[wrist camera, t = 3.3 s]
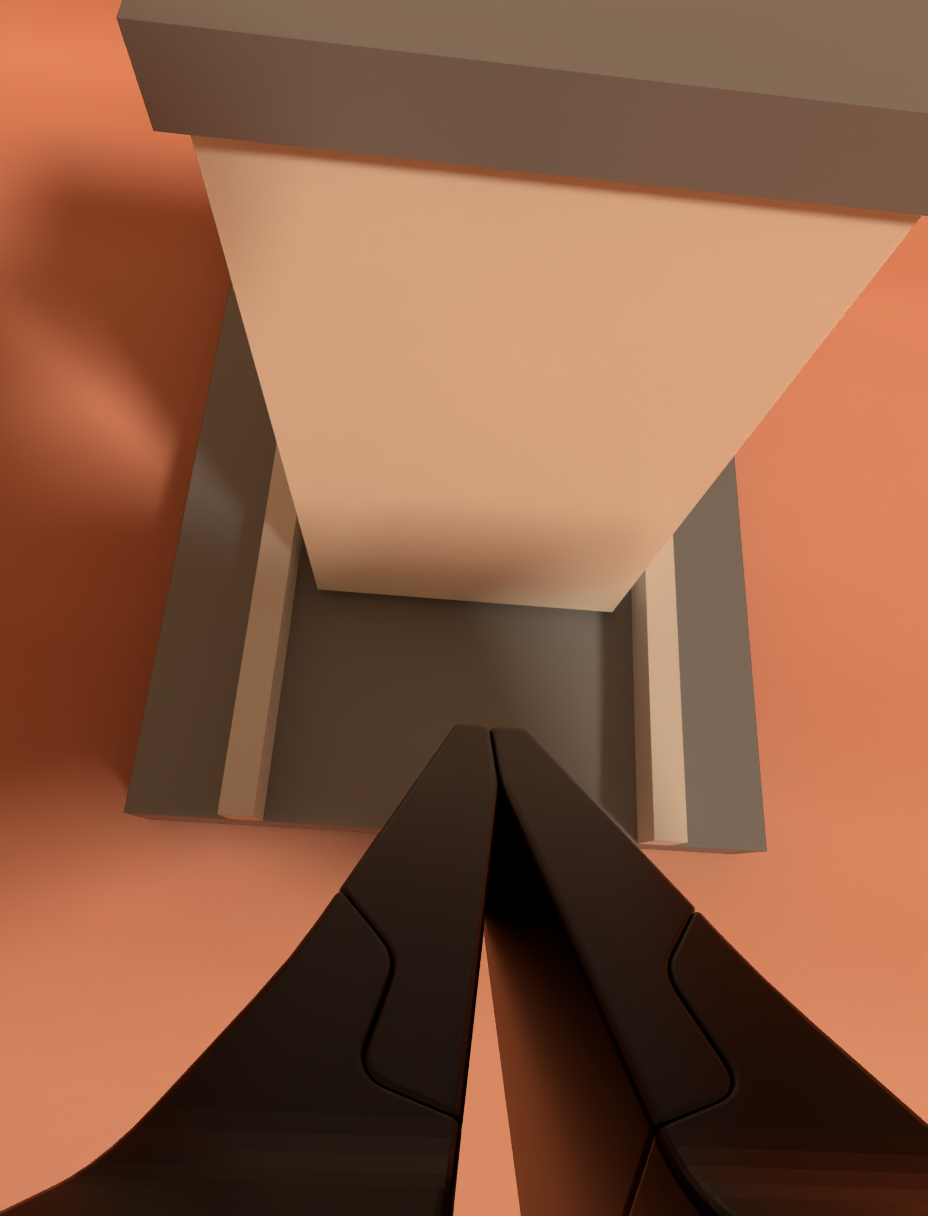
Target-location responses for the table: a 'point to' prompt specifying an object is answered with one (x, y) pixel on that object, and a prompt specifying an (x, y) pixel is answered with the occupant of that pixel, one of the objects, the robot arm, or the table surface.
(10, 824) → the table surface
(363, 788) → the grey railed base plate
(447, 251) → the fader knob
